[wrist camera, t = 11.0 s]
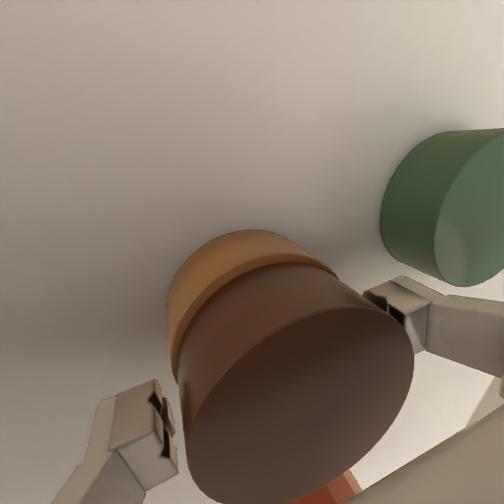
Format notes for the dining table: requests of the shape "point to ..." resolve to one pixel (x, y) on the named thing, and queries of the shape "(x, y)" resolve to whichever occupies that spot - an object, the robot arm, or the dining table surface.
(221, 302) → the walnut chip
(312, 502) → the cup
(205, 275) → the oak chip
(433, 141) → the green chip
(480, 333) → the robot arm
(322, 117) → the dining table surface
